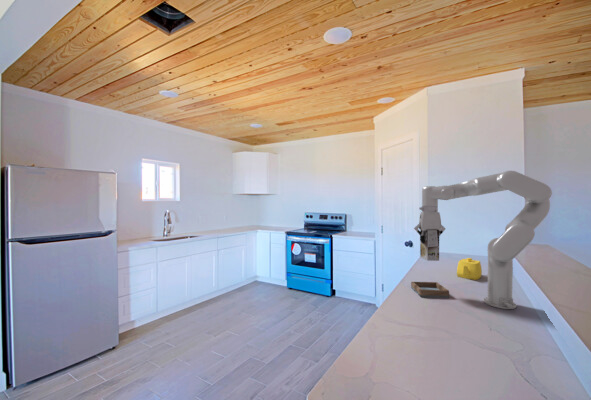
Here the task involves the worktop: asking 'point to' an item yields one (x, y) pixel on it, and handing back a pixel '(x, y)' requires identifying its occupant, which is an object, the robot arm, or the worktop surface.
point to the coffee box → (430, 245)
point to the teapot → (469, 269)
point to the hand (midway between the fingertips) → (429, 242)
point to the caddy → (430, 289)
